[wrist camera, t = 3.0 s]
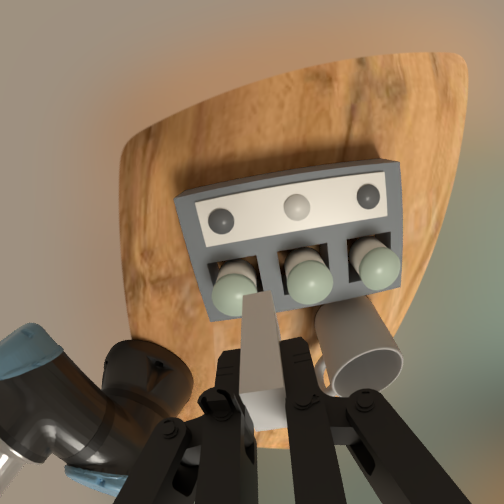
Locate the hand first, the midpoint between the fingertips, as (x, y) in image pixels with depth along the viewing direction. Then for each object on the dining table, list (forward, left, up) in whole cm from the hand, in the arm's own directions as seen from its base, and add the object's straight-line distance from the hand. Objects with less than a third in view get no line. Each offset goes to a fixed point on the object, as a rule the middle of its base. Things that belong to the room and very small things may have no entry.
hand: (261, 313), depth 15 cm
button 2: (-3, -4, -13) cm, 14 cm away
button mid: (+4, -4, -13) cm, 15 cm away
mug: (+8, -16, -17) cm, 25 cm away
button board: (+4, -2, -17) cm, 17 cm away
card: (+4, +2, -12) cm, 13 cm away
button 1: (+11, -4, -13) cm, 18 cm away
